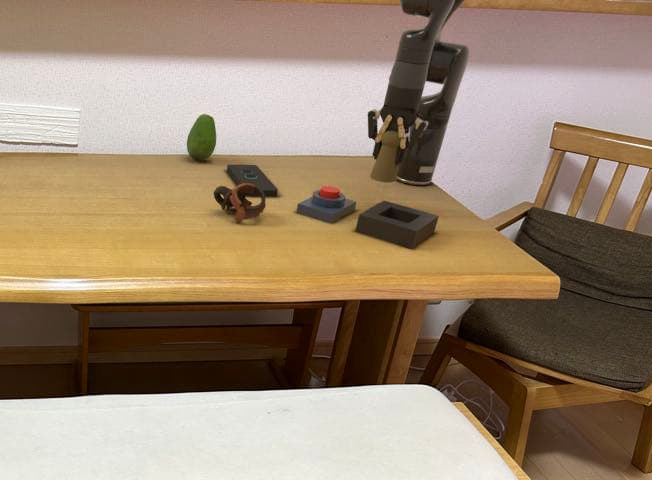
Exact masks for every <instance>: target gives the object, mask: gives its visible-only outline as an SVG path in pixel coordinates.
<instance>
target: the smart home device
mask: <svg viewBox="0 0 652 480" xmlns="http://www.w3.org/2000/svg"><path fill="white" fill-rule="evenodd" d="M226 172H227V174H228V175H229V177H230V178H231V179H232V180H233V182H234V183H235V185H236V187H237V186H238V185H240V184H243V183H249V184H253V185H255V186H258V187H259V188H260V189H261V190H262V191H263V192H264V194H265V197H266V198H277V197H278V191H279V189H278V188H277V187H276V186H275V184H274V183H273V182H272V181H271V179H269V178H268V177H267V175H266V174H265V173H264V172H263V170H261V168H260V167H259V166H258V165H257V164H234V163H233V164H231V163H229V164H228V163H227V165H226ZM246 197H249V198H250V197H252V198H255V197H257V198H260V197H259V196H258V194H257V192H255V191H253V192H252V193H248V194H247V195H246Z"/></svg>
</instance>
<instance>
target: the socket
mask: <svg viewBox="0 0 652 480" xmlns="http://www.w3.org/2000/svg"><path fill="white" fill-rule="evenodd" d="M439 217H440V215H438V214H434V213H432V212H427V211H423V210H420V209H417V208H413V207H409V206H405V205H402V204H398V203H394V202H390V201H387V200H382V201H380V202H378V203H376V204H375V205H373V206H371V207H369V208H368V209H366V210H364V211H362V212H360V213H359V214H358V217H357V221H356V226H355V230H354V231H355V232H356V233H359V234H362V235H366V236H368V237H372V238H376V239H379V240H382V241H386V242H389V243H392V244H395V245H397V246H401V247H404V248H408V249H413V248H415V247H416V246H417V245H419V244H420V243H421V242H423V241H425V240H426V239H427V238H428V237H431V235H433V234H434V233H435V231H436V228H437V224H438V221H439Z"/></svg>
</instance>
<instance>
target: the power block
mask: <svg viewBox="0 0 652 480" xmlns="http://www.w3.org/2000/svg"><path fill="white" fill-rule="evenodd" d="M319 194H320V189H317V190H314V191H313V192H312V195H311V197H308V198H306V199H304V200H302V201H300V202H298V203H297V206H296V211H295V213H297V214H300V215H303V216H307V217H310V218H313V219H316V220H320V221H323V222H326V223H329V224H332V223H334V222H336V221H338V220H340V219H342V218H344V217H346V216H347V215H349V214H351V213H353V212H354V211H355V210H356V208H357V207H356V206H357V201H356V200H353V199H348V198H346V194H344V193H342V192H340V194H339V198H337V199H330V198H324V197H321V196H320V195H319Z"/></svg>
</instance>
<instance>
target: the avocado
mask: <svg viewBox="0 0 652 480" xmlns="http://www.w3.org/2000/svg"><path fill="white" fill-rule="evenodd" d="M216 146H217V129H216V122H215V118H214V117H213V116H212V115H210V114H207V113H204V114H200V115H199V116H198V117H197V118H196V119H195V121H194V123H193V125H192V127H191V128H190V131H189V132H188V135H187V139H186V151H187V153H188V155H189V157H190V158H192V159H193V160H195V161H199V162H203V161H206V160H208V159H210V158H211V156H212V155H213V154H214V151H215V149H216Z"/></svg>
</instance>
